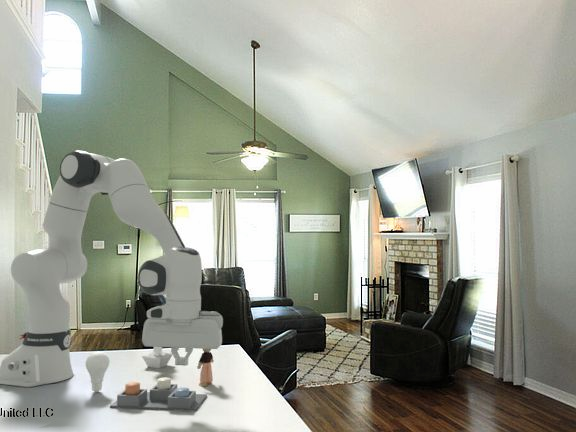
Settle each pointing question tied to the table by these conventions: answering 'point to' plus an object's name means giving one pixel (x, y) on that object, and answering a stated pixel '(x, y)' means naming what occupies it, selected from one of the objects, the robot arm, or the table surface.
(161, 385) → the cream button
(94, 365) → the lightbulb
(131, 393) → the rust button
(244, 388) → the table surface
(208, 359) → the grandmother figurine
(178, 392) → the slate button
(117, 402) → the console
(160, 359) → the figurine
